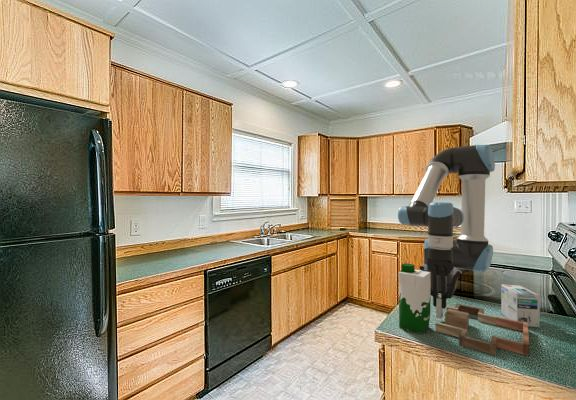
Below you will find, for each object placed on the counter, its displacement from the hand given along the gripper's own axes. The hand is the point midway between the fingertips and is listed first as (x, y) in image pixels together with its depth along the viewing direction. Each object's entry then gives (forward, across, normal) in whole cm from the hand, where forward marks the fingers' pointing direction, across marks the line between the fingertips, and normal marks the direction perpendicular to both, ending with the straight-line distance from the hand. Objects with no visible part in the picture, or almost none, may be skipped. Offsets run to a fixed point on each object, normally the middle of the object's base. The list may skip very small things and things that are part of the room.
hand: (439, 316), depth 99 cm
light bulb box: (+2, +21, +18) cm, 28 cm away
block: (+2, +5, 0) cm, 5 cm away
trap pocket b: (+2, +12, -12) cm, 17 cm away
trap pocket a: (+1, +7, +12) cm, 14 cm away
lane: (+1, +11, 0) cm, 11 cm away
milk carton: (+2, -5, -10) cm, 12 cm away
